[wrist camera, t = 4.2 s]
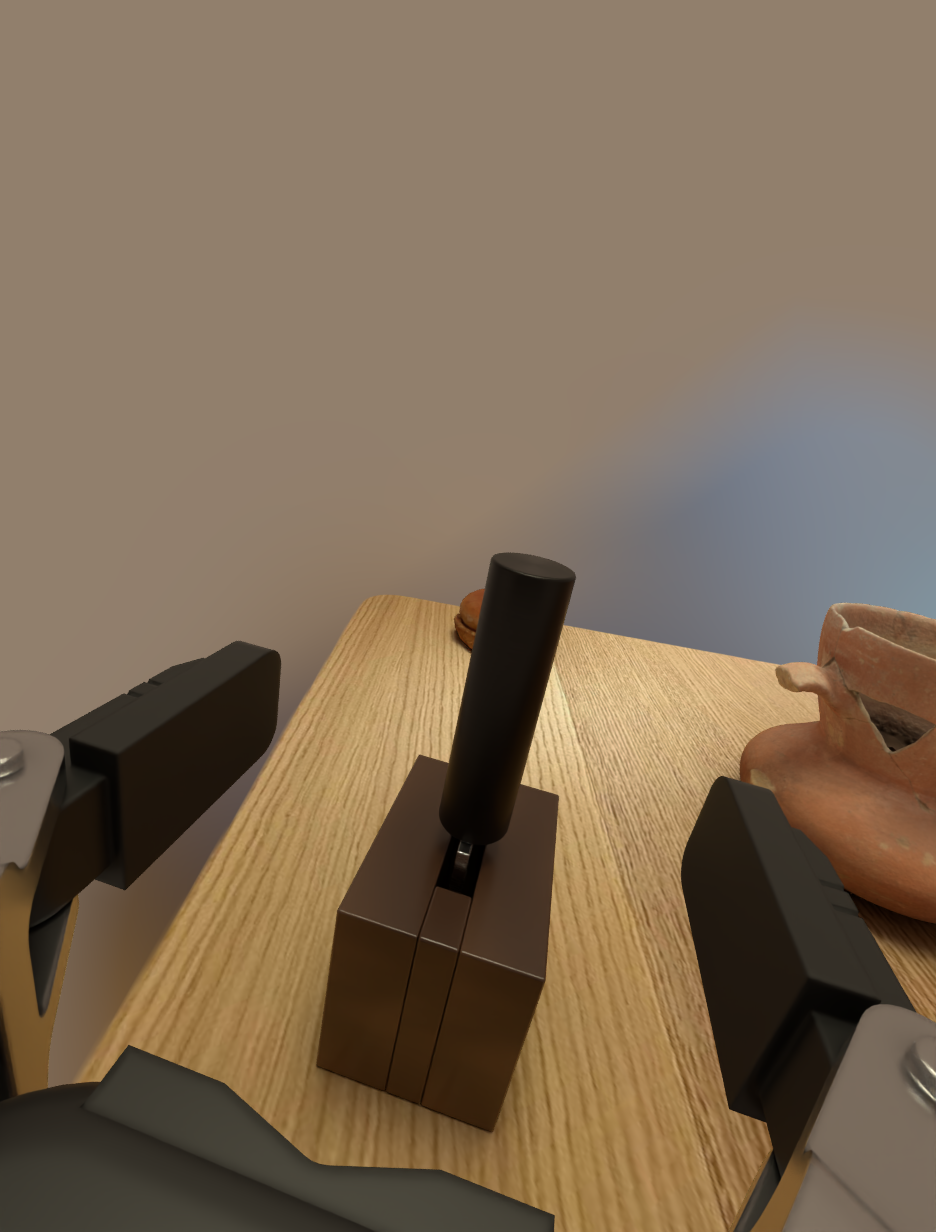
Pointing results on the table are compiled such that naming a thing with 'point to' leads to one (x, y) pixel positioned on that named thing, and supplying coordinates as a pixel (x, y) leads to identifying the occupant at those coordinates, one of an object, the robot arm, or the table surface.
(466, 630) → the burger
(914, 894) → the ceramic jug
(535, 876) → the knife block
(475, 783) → the black tall cylinder
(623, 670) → the table surface
